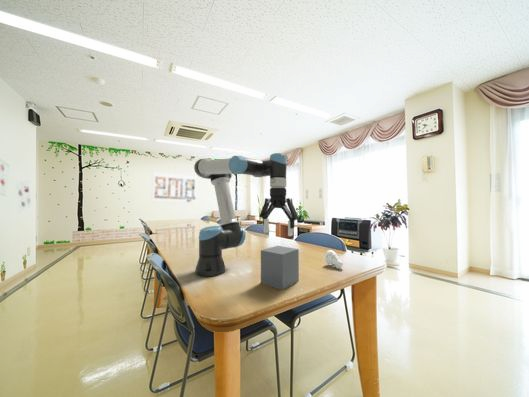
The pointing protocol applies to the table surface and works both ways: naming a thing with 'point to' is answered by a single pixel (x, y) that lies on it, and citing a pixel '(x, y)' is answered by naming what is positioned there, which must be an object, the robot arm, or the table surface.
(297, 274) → the grey chamfered box
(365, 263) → the table surface
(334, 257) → the white figurine
